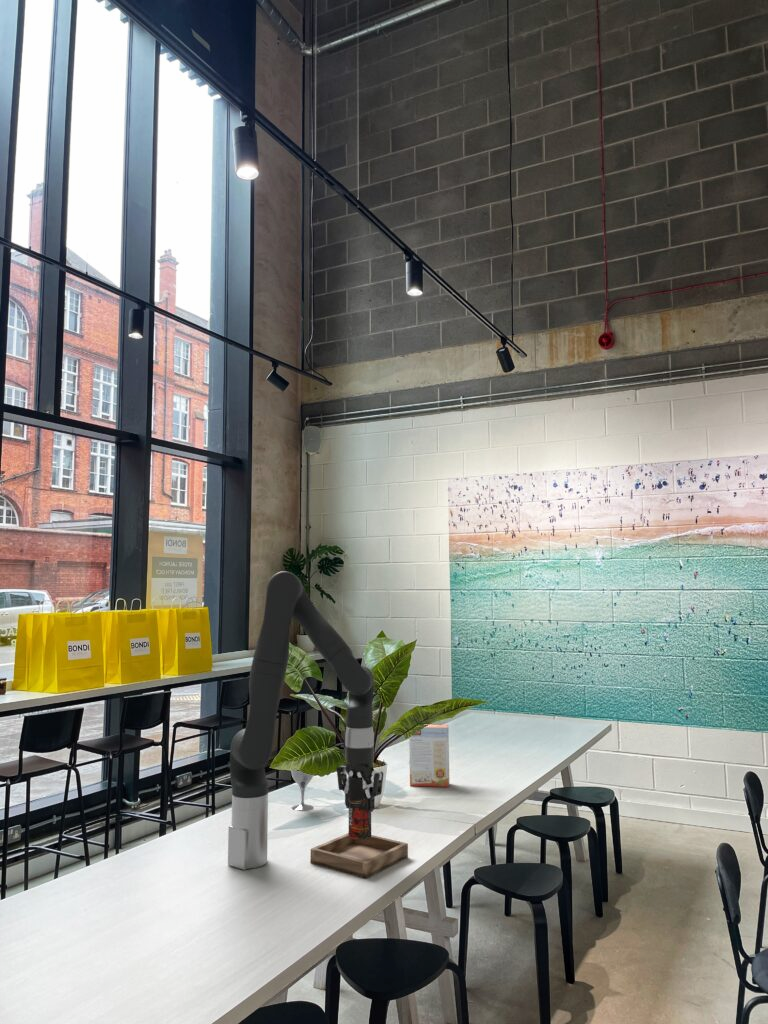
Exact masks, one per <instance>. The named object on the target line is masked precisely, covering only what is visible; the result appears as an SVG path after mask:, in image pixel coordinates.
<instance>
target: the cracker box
mask: <svg viewBox="0 0 768 1024" xmlns="http://www.w3.org/2000/svg"><path fill="white" fill-rule="evenodd" d="M427 725H428V726H426V727H424V728H423V729H421V730H420V731H419V732H417V733H416V734H414V735H413V736H411V737H409V741H408V742H409V743H408V744H409V748H408V749H409V786H410V787H434V788H435V787H438V788H439V787H441V788H442V787H443V788H449V786H450V741H449V737H450V735H449V725H448V724H427Z"/></svg>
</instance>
